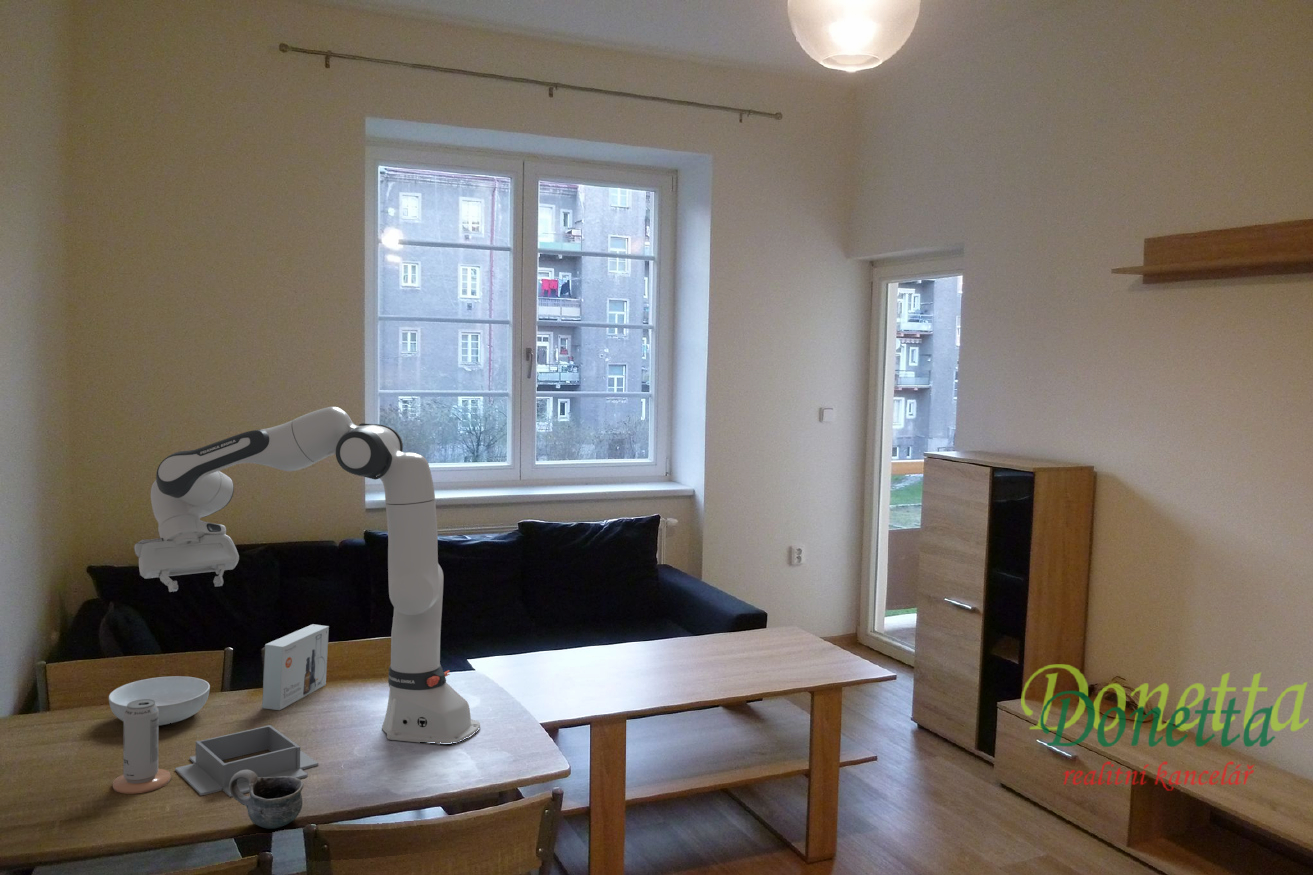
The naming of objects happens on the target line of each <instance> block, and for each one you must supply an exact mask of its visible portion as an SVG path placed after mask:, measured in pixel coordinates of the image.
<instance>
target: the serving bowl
mask: <svg viewBox="0 0 1313 875" xmlns="http://www.w3.org/2000/svg"><path fill="white" fill-rule="evenodd" d="M210 689H211V685H210V683H209V682H208V681H206V680H205V679H202V678H198V677H194V676H193V677H192V676H183V675H182V676H181V675H180V676H179V675H177V676H176V675H175V676H173V675H172V676H159V677H151V678H146V679H141V680H140V679H139V680H136V681H133V682H129V683H126V684H123V685H121V686H119V687H117V688H115V689H114V690H113V691H111V692H110V693H109V695H108V703H109V708H110V710H111V712H112V714H113V715H114V716H115V717H116V718H117V719H119V720H120V721H122V722H124V712H125V710H126V709H127V704H128V703H130V702H132V701H136V700H143V699H149V700H154V701H155V705H156V707H157V708H158V727H159V726H164V725H165V726H166V725H170V723H171V724H174V723H178V722H181V721H184V720H186V719H188V718H190V717H192V716H193V715H194V716H195V714H197V713H198V712H199V711H200V710H201V709H203V707H204V706H205V704H206V703H207V701H208V698H209V694H210Z"/></svg>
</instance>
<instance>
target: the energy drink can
mask: <svg viewBox="0 0 1313 875" xmlns="http://www.w3.org/2000/svg"><path fill="white" fill-rule="evenodd" d="M122 748H123V753H122V754H123V755H122V756H123V762H122V763H123V769H122V772H123V774H122V775H123V776H124V778H125V779H127V782H129V783H134V784H137V783H144V782H148V781H150V780H152V779H154V778H155V775H156V774H157V773H158V769H159V726H158V708H157V707H156V705H155V701H154V700H149V699H143V700H136V701H132V702H130V703H128V704H127V709H126V710H125V712H124V721H123V747H122Z"/></svg>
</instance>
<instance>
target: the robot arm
mask: <svg viewBox="0 0 1313 875" xmlns="http://www.w3.org/2000/svg"><path fill="white" fill-rule="evenodd" d="M403 449H404V444H403V439H402V437H401V436H400V434H399V433H398V432H397V431H396V430H395V429H393V428H392V427H390V426H387V425H383V424H376V423H374V424H373V423H359V424H358V425H357V424H355V423H354V422H353V421H352V419H351V417H350V415H349V414H348V413H347V412H346V411H345V410H343V409H342V408H340V407H339V406H328V407H323V408H320V409H317V410H314V411H311V412H308V413H306V414H303V415H301V416H298V417H296V418H294V419H292V420H290V421H287V422H284V423H282V424H279V425H275V426H272V427H268V428H261V429H254V430H248V431H245V432H241V433H238V434H235V435H233V436H230V437H227V438H224V439H222V440H219V441H216V442H213V443H210V444H207V445H204V446H202V447H199V448H196V449H192V450H181V451H176V452H174V453H172V454H170V455H168V456H166V457H165V458H164V459H163V460H162V461H161V462H160V464H159V465H158V467H157V470H156V474H155V478H156V479H155V480H154V482H153V483H152V485H151V488H150V502H151V507H152V508H151V509H152V512H153V516H154V518H155V520H156V521H157V524H158V527H157V528H158V529H157V530H158V535H159V538H151V539H141V540H140V541H138V542H136V543H135V544H134V546H133V550H134V555H136V557H137V558H138V568H139V569H138V570H139V576H141V577H142V578H144V579H155V578H159V579H160V582H161V583H162V584H164V585H165V586H167V588H168V592H169V593H171V592H173V593H174V592H177V591H178V590H179V584H178V581H177V580H173V579H172V578H170V577H175V576H185V575H192V574H201V573H203V574H204V573H211V572H212V573H213V572H215V574H216V575H215V576H214V578H213V581H212V582H213V584H214V587H223V585H224V578H223V576H224V572H225V571H228V570H229V571H231V570H234V569H235V568H236V566H237V565H238V563H239V560H240V555H239V552H238V550H237V547H236V545H235V543H234V541H233V539H232V538H231V536H229V535H227V534H226V533H227V527H226V526H225V525H223V524H220V523H214V522H209V521H204V520H201V518H205V517H209V516H210V515H213V514H215V513H217V512H218V511H221V510H223V509H224V508H226V507H227V506H228V505H229V504H230V502H231V500H232V499H233V497H234V491H235V486H234V482H233V480H232V478H231V477H230V476H228V475H227V474H225V473H224V472H222V470H226V469H227V468H231V467H233V466H235V465H239V464H254V465H255V464H256V465H257V464H258V465H261V466H262V465H263V466H266V467H268V468H269V467H270V468H274V469H277V470H281V471H283V472H284V471H285V472H294V471H299V470H304V469H305V468H308V467H310V466H312V465H315V464H318V463H319V462H320V461H323V460H325V459H327V458H329V457H331V456H334V455H335V457H336V461H337V463H338V464H339V466H340V468H342V469H343V470H344V471H346V472H347V473H349V474H351V475H353V476H354V475H355V476H357V477H358V476H359V477H364V478H367V479H371V480H378V479H379V480H380V481H381V482H382V484H383V488H384V499H385V510H386V514H385V515H386V524H387V525H386V526H387V536H388V537H387V538H388V539H387V540H388V543H387V544H388V546H387V569H388V570H387V572H388V573H387V574H388V578H387V579H388V595H389V596H388V597H389V600H390V603H391V605H392V606H393V617H392V625H391V626H392V627H391V635H390V636H391V638H390V640H391V641H390V666H389V667H388V677H387V679H388V680H387V681H388V682H387V683H388V688H389V691H388V692H389V693H388V702H387V706H386V712H385V717H384V720H383V723H382V726H381V728H382V731H383V732H384V733H385V734H386V738H387V739H388V740H391V741H399V742H412V743H420V742H435V743H440V742H441V743H451V742H452V743H453V742H458V741H460V740H463V739H464V738H466V737H469V736H470V735H472V734H473V733H474V732H476V731H477V730H478V728H480V729H481V722H480V721H479V720H474V719H471V711H470V710H471V709H470V705H469V703H468V700H466V699H465V698H464V697H463V696H461V694H460V693H458V692H457V691H456V690H455V689H454V688H453V687H452V686H451V685H450V684H449V683H448V682H447V679H446V678H447V676H450V670H449V669H448V670H446V671H444V669H443V666H442V665H441V662H440V661H441V632H442V631H441V630H442V617H443V616H442V614H443V600H444V599H443V596H444V571H443V569H442V567H441V565H440V564H439V559H438V558H439V555H438V551H439V548H438V546H439V545H438V543H439V542H438V540H439V539H438V537H439V536H438V535H439V532H438V520H437V505H436V497H435V496H436V495H435V493H436V492H435V486H434V480H433V477H432V476H433V475H432V472H431V468H430V464H429V462H428V460H427V459H426V457H424V455H421V454H420V453H415V452H409V451H407V452H404V450H403Z"/></svg>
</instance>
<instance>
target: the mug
mask: <svg viewBox="0 0 1313 875" xmlns="http://www.w3.org/2000/svg"><path fill="white" fill-rule="evenodd" d="M239 778H244V779H246V780H248V783H249V788H250V792H249V796H248V795H245V793H244V794H243V793H242V792H241V791H240V790H239V788H238V786H237V779H239ZM304 786H305V784H304V781H303V780H302V779H297V778H294V777H289V776H279V777H275V778H273V777H257V775H256V774H255V773H254V772H253V771H251V770H241V771H239V772H237V773H236V774H235V775H234V776H233V777H232V778H231V780H230V783H229V789H230V792H231V795H232V796H233V798H234V799H235V800H236V801H237V802H238V803H240V804H241V805H243V806H245V807H246V809H247V815H248V817H249V820H250V821H251V822H252V823H253V824H254V825H256V826H258V827H260V828H263V829H267V830H274V829H279V828H281V827H284V826H287V825H288V824H290V823H292V822H293V821H294V820H295V819H296V818H297V817H298V816H299V814H300V812H301V810H302V808H303V795H302V790H303V789H304Z"/></svg>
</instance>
